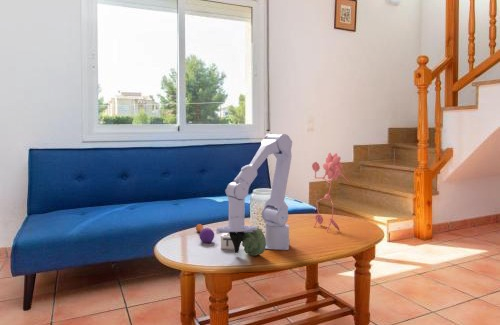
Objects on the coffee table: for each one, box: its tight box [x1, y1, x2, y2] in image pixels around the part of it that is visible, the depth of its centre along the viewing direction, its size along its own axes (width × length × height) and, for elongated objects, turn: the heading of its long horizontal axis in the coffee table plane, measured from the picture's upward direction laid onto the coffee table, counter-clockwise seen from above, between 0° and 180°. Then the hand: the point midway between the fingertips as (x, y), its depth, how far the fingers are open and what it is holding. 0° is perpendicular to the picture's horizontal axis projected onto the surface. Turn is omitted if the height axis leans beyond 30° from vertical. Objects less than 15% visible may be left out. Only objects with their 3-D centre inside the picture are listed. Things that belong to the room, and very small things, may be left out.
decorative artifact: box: [241, 227, 266, 257], centre depth 136 cm, size 10×7×10 cm
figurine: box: [311, 152, 351, 236], centre depth 173 cm, size 15×26×35 cm, turn 28°
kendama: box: [195, 223, 215, 244], centre depth 159 cm, size 6×6×20 cm
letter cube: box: [220, 233, 234, 250], centre depth 146 cm, size 5×5×5 cm
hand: (236, 252), depth 136 cm, fingers closed
